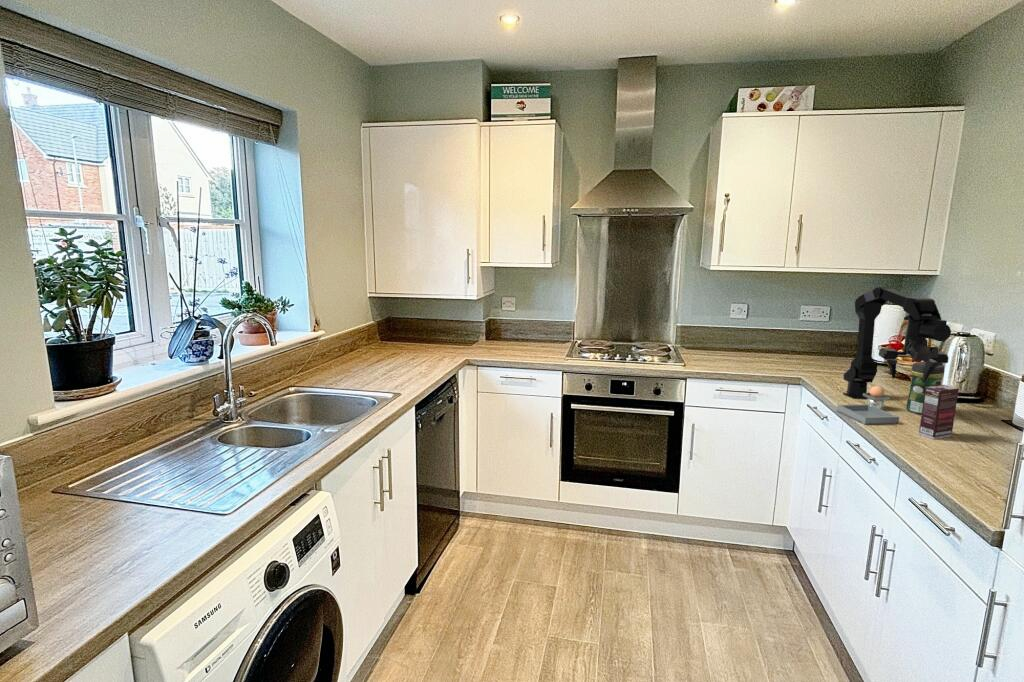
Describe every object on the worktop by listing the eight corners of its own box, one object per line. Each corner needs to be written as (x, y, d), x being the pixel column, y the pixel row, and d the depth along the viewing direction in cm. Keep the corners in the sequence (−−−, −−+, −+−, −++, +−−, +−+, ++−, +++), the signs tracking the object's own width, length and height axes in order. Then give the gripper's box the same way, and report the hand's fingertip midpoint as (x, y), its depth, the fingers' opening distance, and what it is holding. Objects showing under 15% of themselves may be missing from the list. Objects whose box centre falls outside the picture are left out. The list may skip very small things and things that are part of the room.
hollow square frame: (861, 405, 202) (863, 393, 201) (876, 405, 202) (877, 392, 201) (873, 410, 196) (874, 397, 195) (888, 410, 196) (890, 397, 196)
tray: (836, 411, 195) (837, 405, 194) (867, 411, 196) (868, 404, 195) (864, 424, 181) (865, 417, 180) (898, 424, 182) (899, 417, 182)
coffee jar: (919, 407, 201) (927, 358, 197) (942, 414, 193) (950, 363, 190) (900, 409, 198) (908, 360, 194) (923, 416, 190) (931, 365, 187)
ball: (866, 396, 200) (867, 384, 200) (877, 395, 201) (878, 384, 200) (874, 399, 196) (876, 387, 195) (886, 399, 196) (888, 387, 196)
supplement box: (935, 431, 175) (943, 384, 172) (952, 437, 171) (960, 388, 168) (917, 434, 172) (924, 386, 169) (933, 440, 168) (941, 390, 165)
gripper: (893, 337, 179) (885, 383, 183) (960, 342, 174) (951, 388, 177) (881, 331, 190) (874, 374, 193) (944, 335, 185) (936, 379, 188)
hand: (908, 379), depth 188 cm, fingers open, 9 cm apart
